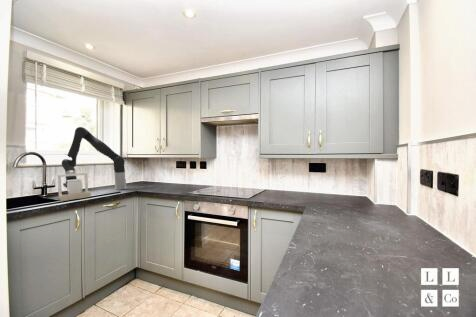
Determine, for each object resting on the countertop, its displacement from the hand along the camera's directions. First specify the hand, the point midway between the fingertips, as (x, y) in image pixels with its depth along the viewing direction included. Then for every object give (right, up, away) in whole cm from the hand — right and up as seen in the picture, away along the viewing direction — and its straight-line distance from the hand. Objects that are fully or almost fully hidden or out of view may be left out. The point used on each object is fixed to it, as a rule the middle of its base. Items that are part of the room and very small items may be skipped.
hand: (73, 191), depth 183 cm
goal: (+5, -4, -4) cm, 8 cm away
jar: (+4, -4, -3) cm, 7 cm away
